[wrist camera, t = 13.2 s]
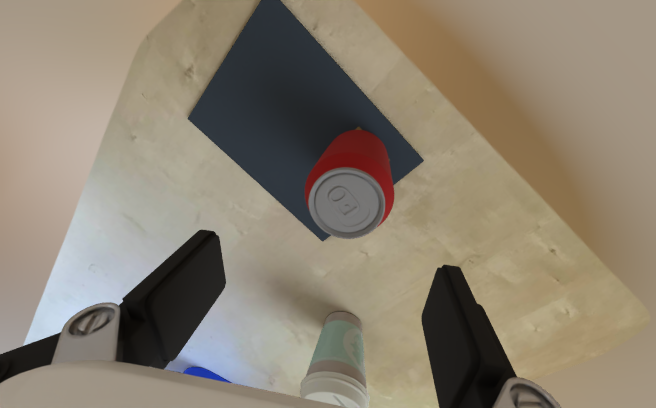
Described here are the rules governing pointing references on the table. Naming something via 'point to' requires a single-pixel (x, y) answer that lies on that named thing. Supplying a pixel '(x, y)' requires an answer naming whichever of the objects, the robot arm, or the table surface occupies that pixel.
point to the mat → (288, 108)
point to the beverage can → (351, 186)
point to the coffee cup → (338, 364)
